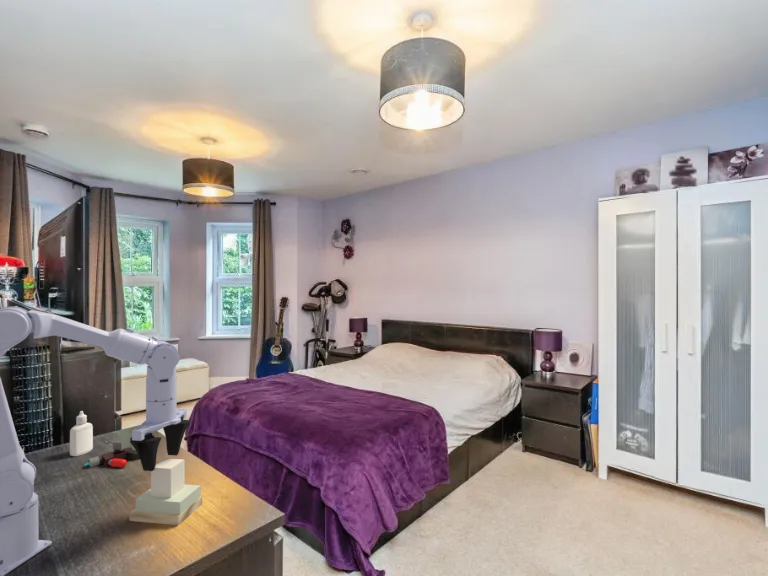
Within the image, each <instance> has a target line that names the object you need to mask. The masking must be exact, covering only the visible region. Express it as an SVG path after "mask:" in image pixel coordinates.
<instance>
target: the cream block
mask: <svg viewBox="0 0 768 576" xmlns="http://www.w3.org/2000/svg"><path fill="white" fill-rule="evenodd" d="M185 463H186V461H185V459H180V458H179V459H177V458H164V459H162V460H160V461H159V462H156V466H155V470H153V471H150V489H151V496H154V497H167V498H171V497H173V496H174V495H175V494H177V493H178V492H179V491H180V490H182V489H183V488H184V487H185V485H186V482H185V481H186V480H185V478H186V477H185V474H186V473H185V472H186V471H185V465H186V464H185Z"/></svg>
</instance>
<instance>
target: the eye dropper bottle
mask: <svg viewBox="0 0 768 576" xmlns="http://www.w3.org/2000/svg"><path fill="white" fill-rule="evenodd" d="M87 417H88V415H86V414H84V411H83V410H80V411H79V414H78V415H77V416H76V417H75V420H76V421H75V422H76V424H75V425H74V426H73V427H71V428H70V430H69V456H72V457H78V456H82V455H85V454H87V453H90V452H91V451H92V450H93V448H94V439H93V438H94V434H93V433H94V430H93V429H94V426H93V424H92V423H91V422H87V421H88V418H87Z"/></svg>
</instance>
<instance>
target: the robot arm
mask: <svg viewBox="0 0 768 576" xmlns="http://www.w3.org/2000/svg"><path fill="white" fill-rule="evenodd" d="M30 333H31V334H32V333H33V339H34V340H35V339H40V338H41V339H42V338H47V337H53V336H55V337H60V338H64V339H69V340H71V341H77V342H79V343H85V344H89V345H91V346H97V347H101V348H102V349H103V351H104V354H105V355H106V356H108V357H111V358H115V359H119V360H123V361H125V362H129V363H133V364H136V365H145V364H146V365H147V366H146V379H145V420H144V421H143V422H141V424H140V425H138V426H137V427H136V428H134V429H132V431H131V437H130V439H129V443H130V445H132V446H133V448H134V450H136V451H137V453H138V455H139V458H140V459H139V460H140V463H141V467H142V469H143V470H142V471H146V472H151V471H153V470H155V466H156V464H157V454H158V449H159V446H160V442H161V440H162V437H161V436H155V435H153V434H154V433H156V432H157V431H160V430H163V431H164V436H165V443H166V451H167V452H166V453H167V455H168V456H179V453H180V450H181V445H182V441H183V439H184V435H185V432H186V430H187V429H188V427H189V425H190V420H188V419H186V418H187V417H188V416H187V415H188V413H187V412H188V411H187V408H177V407H178V406H177V402H178V401H177V395H178V394H177V390H178V389H177V380H178V379H177V377H178V376H177V365H178V364H179V362H180V359H181V356H180V355H179V351H178V349H177V348H176V347H175V346H174V345H172V344H171V343H169V342H167V341H164V340H162V339H159V337H157V336H153V335H152V336H151V337H149V336H146V335H143V334H140V333H136V332H135V329H133V328H131V327H126V329H124V328H117V329H114V330H112V331H107V330H103V329H101V328H99V327H95V326H92V325H88V324H85V323H82V322H79V321H76V320H73V319H71V318H67V317H65V316H61V315H58V314H55V313H49V312H45V311H40V310H35V309H34V310H32V309H31V310H29V311H28V310H27V309H25V308H22V307H21V306H20V307H19V306H13V305H11V306H6V307H2V308H0V359H1V358H3V356H4V355H5V354H6V353H7V352H8V350H10V349H11V348H13V347H14V346H17V345H18V344H19V343H21V342H22V341H25V339H27V338H28V336H29V335H30ZM2 382H3V381H2V378H1V377H0V576H6V575H7V574H8V573H10V572H11V571H13V570H14V569H16V568H17V567H19V566H21V565H22V564H23V563H25V562H27V561H28V560H30V559H31V558H33V557H34V556H36V555H37V554H38V553H40V552H41V551H43V550H45V549H46V548H48V547H49V546H51V545H52V541H51V540H45V539H39V495H38V494H37V493H35V486H34V482H35V479H36V477H37V468H36V466H35V465H34V464H33V463H32V462H31V461H29V460H28V459H27V457H26V455H25V452H24V450H23V448H22V447H21V445H20V442H19V438H18V435H17V431H16V428H15V424H14V421H13V417H12V414H11V409H10V407H9V403H8V399H7V396H6V393H5V390H4V386H3V383H2Z"/></svg>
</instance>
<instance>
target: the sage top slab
mask: <svg viewBox="0 0 768 576" xmlns="http://www.w3.org/2000/svg"><path fill="white" fill-rule="evenodd" d="M201 487H202V485H199V484H198V485H197V484H185V487H184V488H183V489H182V490H180V491H179V492H178V493H177V494H175V495H174V496H173V497H171V498H167V497H154V496H151V488H149V489H148V490H146V491H145V492H143V493H142V494H141V495H139V496H138V497H136V498H135V508H136V511H141V512H153V513H165V514H177V515H180V514H182V513H183V512H184V511H185V510H186V509H187V508H189V507H190V506H191V505H192V504H193V503H194V502H196V501H197V500H198V499H199V498H200V497H201V496H202V493H201V492H202V491H201V489H202V488H201Z"/></svg>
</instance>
